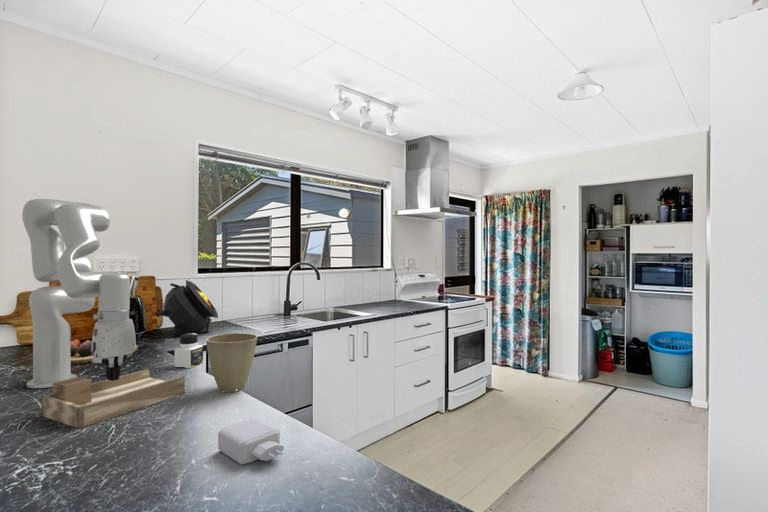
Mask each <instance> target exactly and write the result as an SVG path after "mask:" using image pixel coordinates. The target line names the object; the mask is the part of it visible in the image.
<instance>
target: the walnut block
mask: <svg viewBox="0 0 768 512" xmlns="http://www.w3.org/2000/svg"><path fill="white" fill-rule="evenodd" d="M91 384H92V378H88V377H87V378H86V377H82V376H76V377H75V378H71V379H67V380H62V381H58V382H54V383H53V387H52V394H53V397H54V398H57V399H61V400H64V401H67V402H71V403H74V404H78V405H83V404H86V403H90V402H91Z"/></svg>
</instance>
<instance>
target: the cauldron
mask: <svg viewBox="0 0 768 512" xmlns="http://www.w3.org/2000/svg"><path fill="white" fill-rule="evenodd" d="M169 286H171V287H172V288H171V289H170V290H169V291H168V293H167V294H166V295H165V298H164V303H163V310H161V311H156V312H154V313H155V315H156V317H157V318H159V317H160V316H163V317H166V318H168V320H170V321H171V322H172V324H173V325H174V327H173V332H171V335H172V336H173V337H174V338H177V334H178V333H179V332H180V331H182V332H185V333H186V332H188V333H189V332H190V333H191V332H192V333H195V332H196V333H197V332H200V331H202V330H205V333H208V331H209V328H210V324H211V323H212V320H213V319H211V318H215V319H219V314H218V311H217V309H216V308H215V306H214V305H213V304H212V302H211V301H210V299H209V298H208V297H207V295H206V294H205V293H204V292H203V291H202V290H201V289H200V288H199V287H198V286H197V285H196V284H195V283H194V282H192V281H190V280H187V279H186V280H185V285H178V284H175V283H170V284H169Z"/></svg>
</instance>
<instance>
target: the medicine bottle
mask: <svg viewBox="0 0 768 512" xmlns="http://www.w3.org/2000/svg"><path fill="white" fill-rule="evenodd" d="M198 341H199V335H198V333H195V332H192V333H191V332H190V333H189V332H188V333H184V334H182V335H180V337H179V343H180V344H179V346H178V347H176V348H174V368H175V367H185V368H184V369H193V367H194V368H195V367H198V366H200V365H203V364H204V346H203V345H201V344H200V345H199V342H198Z"/></svg>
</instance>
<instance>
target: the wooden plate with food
mask: <svg viewBox="0 0 768 512" xmlns="http://www.w3.org/2000/svg"><path fill="white" fill-rule="evenodd" d="M76 338H77V337H75V338H73V339H71V365H76V364H77V365H79V363H81V364H89V363H88V362H90V363H93V362H92V358H93V356H92V352H91V349H92V340H86V341H84V342H83V343H81V340H79V339H76ZM137 350H138V345H137V344H136V349H135V351H134V352H133V353H135V352H137ZM113 358H114V357H113Z"/></svg>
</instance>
